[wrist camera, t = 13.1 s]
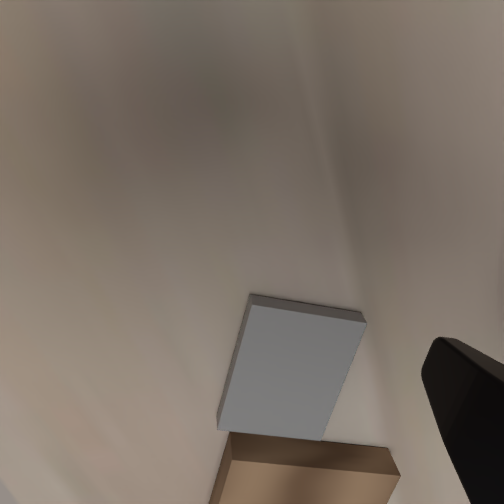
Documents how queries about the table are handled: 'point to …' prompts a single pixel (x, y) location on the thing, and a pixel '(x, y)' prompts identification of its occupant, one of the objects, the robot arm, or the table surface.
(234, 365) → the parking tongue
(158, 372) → the table surface
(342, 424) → the table surface
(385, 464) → the board
